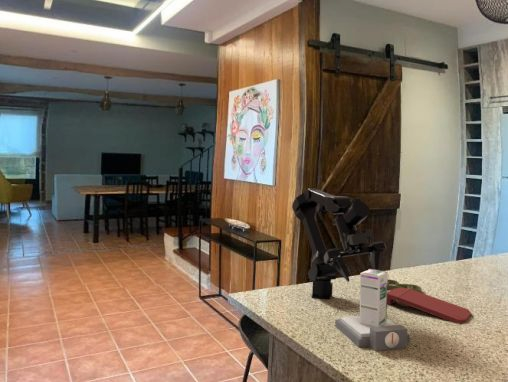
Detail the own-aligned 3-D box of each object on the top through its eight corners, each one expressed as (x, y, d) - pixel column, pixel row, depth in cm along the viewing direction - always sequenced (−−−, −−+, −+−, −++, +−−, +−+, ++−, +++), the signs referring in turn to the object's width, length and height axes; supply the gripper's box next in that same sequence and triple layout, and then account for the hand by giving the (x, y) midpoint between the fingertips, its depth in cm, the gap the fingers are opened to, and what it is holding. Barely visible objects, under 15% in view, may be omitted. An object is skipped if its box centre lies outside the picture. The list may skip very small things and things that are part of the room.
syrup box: (378, 328, 114) (380, 275, 113) (358, 323, 118) (360, 271, 117) (386, 322, 119) (389, 271, 118) (366, 317, 122) (368, 267, 121)
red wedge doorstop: (469, 325, 137) (394, 297, 152) (473, 310, 136) (397, 284, 151) (460, 336, 127) (381, 305, 143) (463, 321, 127) (383, 291, 142)
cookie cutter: (368, 289, 161) (368, 284, 161) (378, 282, 171) (378, 277, 171) (417, 298, 151) (417, 293, 151) (425, 290, 161) (425, 285, 161)
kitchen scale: (335, 326, 123) (335, 309, 123) (381, 322, 127) (382, 306, 127) (365, 353, 106) (366, 333, 106) (417, 347, 110) (418, 328, 110)
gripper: (325, 225, 127) (339, 275, 119) (383, 216, 129) (401, 264, 122) (318, 240, 136) (331, 287, 129) (372, 231, 139) (388, 277, 132)
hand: (363, 278), depth 128 cm, fingers open, 9 cm apart
